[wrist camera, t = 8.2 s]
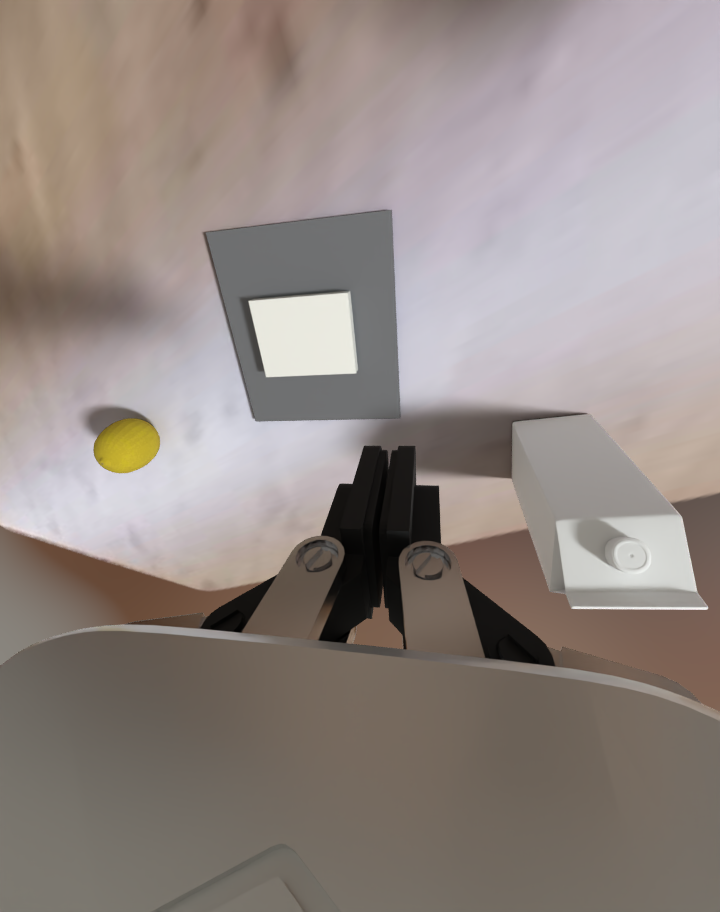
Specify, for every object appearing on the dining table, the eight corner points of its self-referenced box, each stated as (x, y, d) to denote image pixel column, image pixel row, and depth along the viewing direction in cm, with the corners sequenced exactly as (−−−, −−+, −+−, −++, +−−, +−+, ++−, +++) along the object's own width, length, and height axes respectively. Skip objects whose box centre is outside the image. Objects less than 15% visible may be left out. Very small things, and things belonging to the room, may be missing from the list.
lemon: (146, 399, 42) (93, 431, 35) (182, 435, 44) (138, 472, 37) (120, 421, 44) (66, 455, 38) (155, 455, 46) (109, 493, 40)
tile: (351, 290, 32) (255, 298, 34) (347, 292, 31) (248, 301, 32) (358, 368, 36) (271, 371, 37) (356, 373, 34) (266, 377, 36)
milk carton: (582, 474, 39) (692, 645, 23) (511, 478, 40) (566, 642, 24) (590, 412, 35) (726, 564, 19) (511, 420, 37) (576, 566, 21)
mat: (209, 232, 32) (205, 232, 32) (391, 210, 29) (391, 209, 29) (257, 419, 41) (255, 421, 41) (400, 415, 38) (400, 418, 38)
